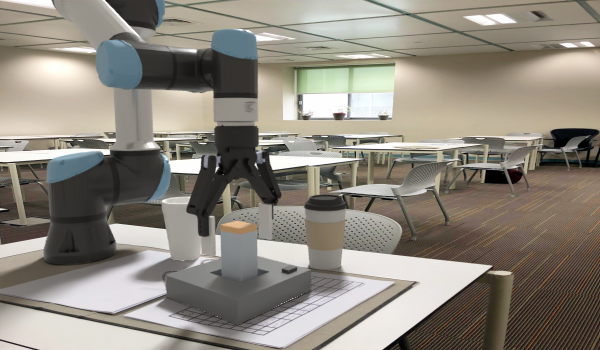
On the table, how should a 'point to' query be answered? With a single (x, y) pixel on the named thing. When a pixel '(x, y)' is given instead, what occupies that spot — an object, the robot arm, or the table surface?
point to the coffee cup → (325, 230)
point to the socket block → (238, 289)
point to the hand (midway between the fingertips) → (238, 246)
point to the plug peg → (239, 251)
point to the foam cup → (181, 229)
